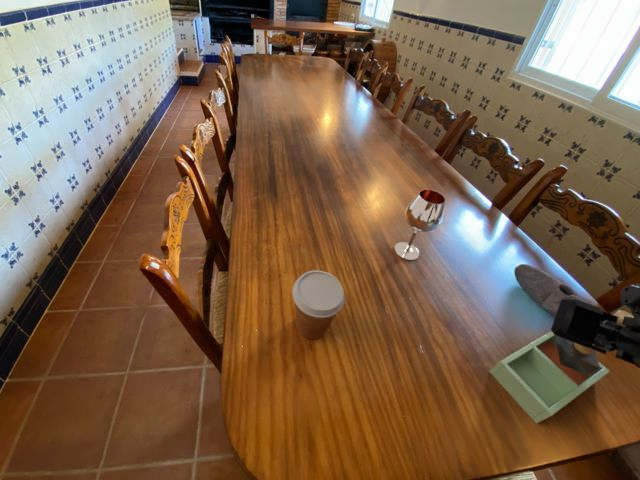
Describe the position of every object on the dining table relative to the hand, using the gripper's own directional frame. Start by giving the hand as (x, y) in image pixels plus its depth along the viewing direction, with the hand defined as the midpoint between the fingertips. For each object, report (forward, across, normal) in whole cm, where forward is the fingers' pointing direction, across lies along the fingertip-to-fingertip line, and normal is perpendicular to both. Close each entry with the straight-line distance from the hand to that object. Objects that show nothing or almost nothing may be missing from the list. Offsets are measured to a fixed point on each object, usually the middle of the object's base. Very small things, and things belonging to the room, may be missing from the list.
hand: (594, 331), depth 51 cm
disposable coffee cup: (-3, +44, +20) cm, 49 cm away
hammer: (+4, 0, +6) cm, 7 cm away
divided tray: (+5, +3, +11) cm, 12 cm away
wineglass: (+19, +31, -3) cm, 36 cm away
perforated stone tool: (+19, +1, -3) cm, 19 cm away
